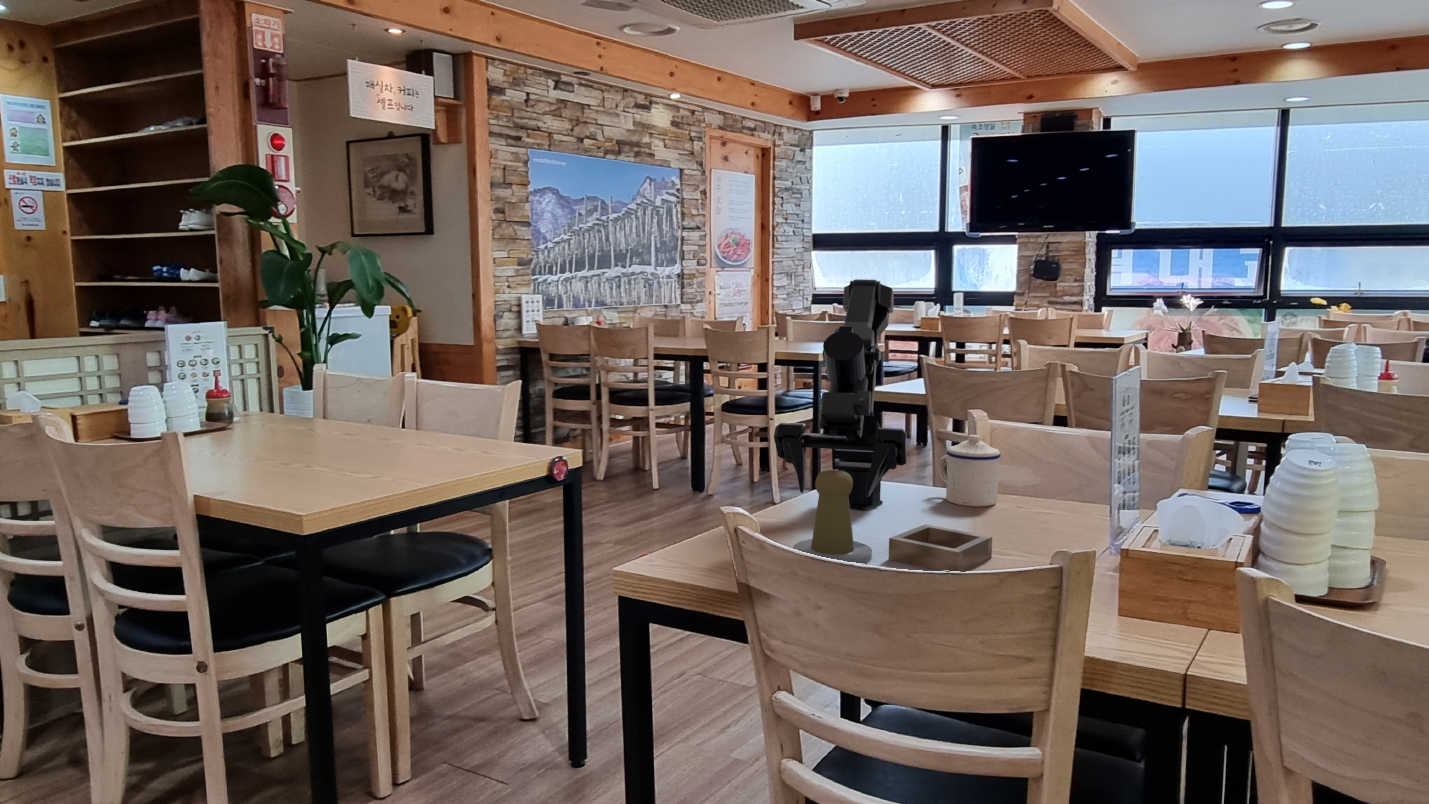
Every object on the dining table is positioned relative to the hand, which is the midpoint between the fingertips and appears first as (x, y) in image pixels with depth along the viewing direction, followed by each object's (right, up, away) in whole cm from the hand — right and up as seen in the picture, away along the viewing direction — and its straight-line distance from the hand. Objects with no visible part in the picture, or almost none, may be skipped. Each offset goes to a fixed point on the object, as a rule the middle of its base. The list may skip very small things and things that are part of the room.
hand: (834, 493), depth 140 cm
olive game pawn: (0, -8, +1) cm, 8 cm away
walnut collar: (+15, -9, 0) cm, 17 cm away
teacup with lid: (+27, -5, +36) cm, 46 cm away
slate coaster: (0, -9, +1) cm, 9 cm away
